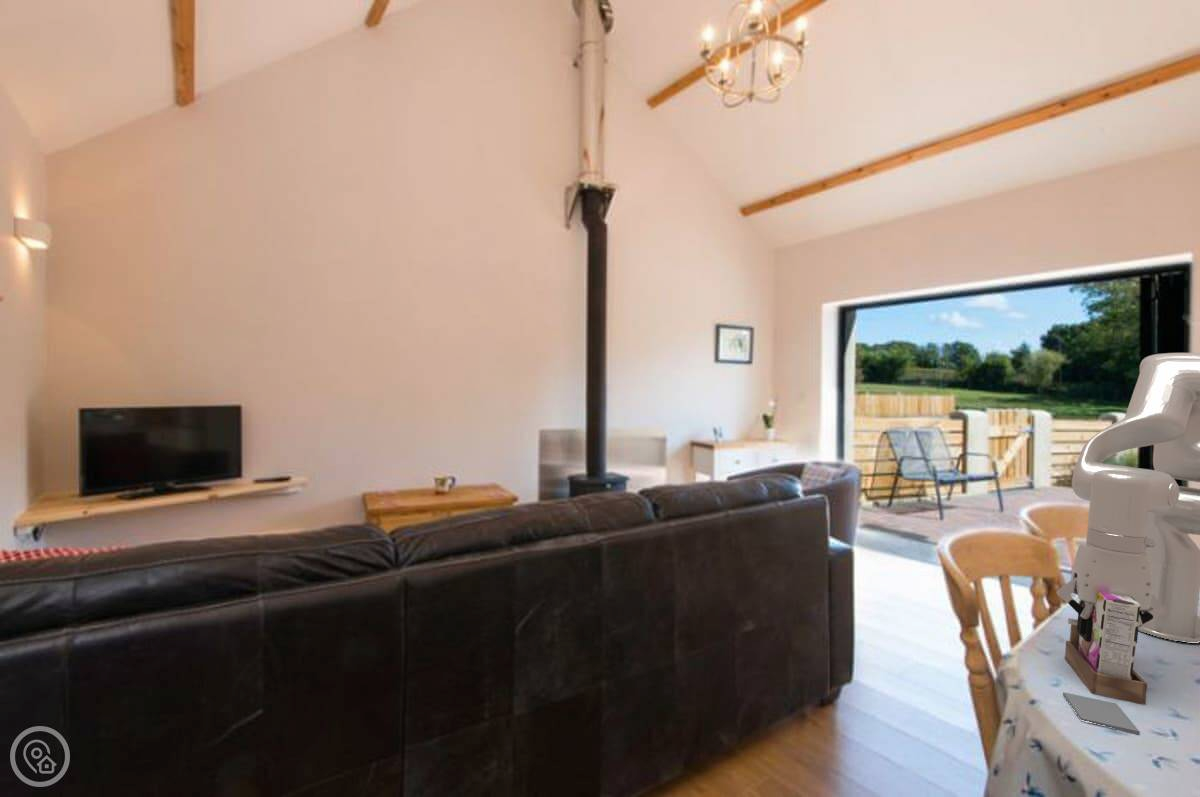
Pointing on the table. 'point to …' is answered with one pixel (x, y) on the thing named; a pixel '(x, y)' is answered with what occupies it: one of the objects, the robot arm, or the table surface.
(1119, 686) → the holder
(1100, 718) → the pad
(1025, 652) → the table surface
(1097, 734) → the table surface
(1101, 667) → the candy bar box
